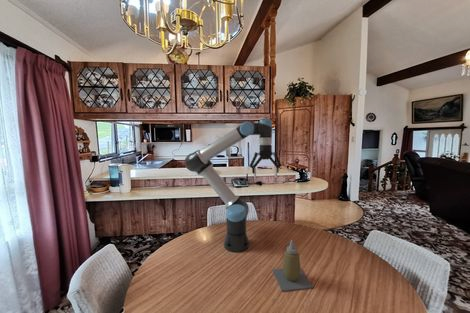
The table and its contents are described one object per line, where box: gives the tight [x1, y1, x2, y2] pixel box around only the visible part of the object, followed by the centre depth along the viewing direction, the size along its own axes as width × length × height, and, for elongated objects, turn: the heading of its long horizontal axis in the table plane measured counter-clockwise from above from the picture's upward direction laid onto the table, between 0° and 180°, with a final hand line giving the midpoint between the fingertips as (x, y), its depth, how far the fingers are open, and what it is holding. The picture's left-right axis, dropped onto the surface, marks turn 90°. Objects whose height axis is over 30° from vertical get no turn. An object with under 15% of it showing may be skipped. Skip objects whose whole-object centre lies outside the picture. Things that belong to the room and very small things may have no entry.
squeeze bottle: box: [282, 239, 302, 282], centre depth 97 cm, size 8×8×18 cm
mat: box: [271, 267, 314, 292], centre depth 98 cm, size 14×14×1 cm
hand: (265, 178), depth 134 cm, fingers open, 13 cm apart
